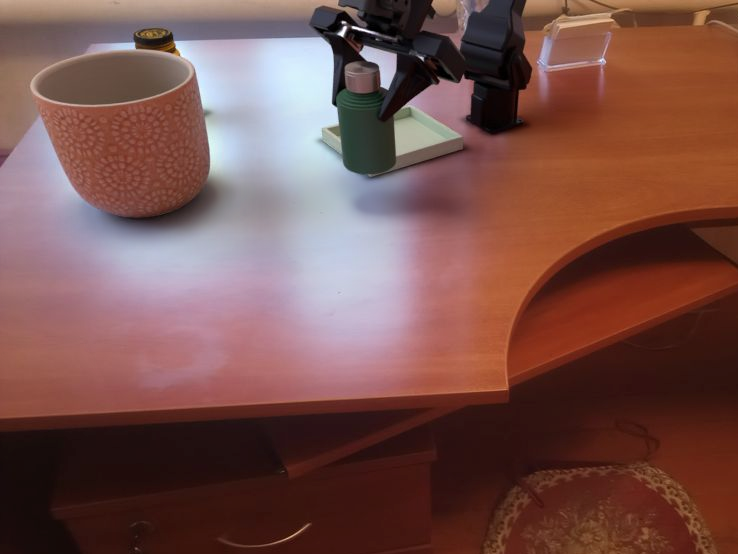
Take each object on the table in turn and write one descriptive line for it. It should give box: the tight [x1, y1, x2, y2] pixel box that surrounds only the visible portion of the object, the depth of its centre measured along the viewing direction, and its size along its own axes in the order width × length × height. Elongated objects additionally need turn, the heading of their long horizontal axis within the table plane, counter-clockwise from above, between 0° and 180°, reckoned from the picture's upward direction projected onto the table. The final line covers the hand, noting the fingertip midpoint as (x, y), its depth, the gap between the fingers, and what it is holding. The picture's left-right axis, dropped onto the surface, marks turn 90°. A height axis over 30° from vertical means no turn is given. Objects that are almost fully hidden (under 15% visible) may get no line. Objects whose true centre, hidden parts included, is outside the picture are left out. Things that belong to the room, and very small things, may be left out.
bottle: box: [336, 86, 396, 175], centre depth 84 cm, size 6×6×11 cm
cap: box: [345, 60, 382, 94], centre depth 81 cm, size 4×4×2 cm
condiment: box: [132, 27, 206, 114], centre depth 104 cm, size 7×8×12 cm
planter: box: [29, 48, 211, 219], centre depth 85 cm, size 17×17×15 cm
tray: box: [320, 104, 464, 178], centre depth 102 cm, size 15×13×2 cm
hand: (357, 113), depth 82 cm, fingers closed on bottle, 6 cm apart
